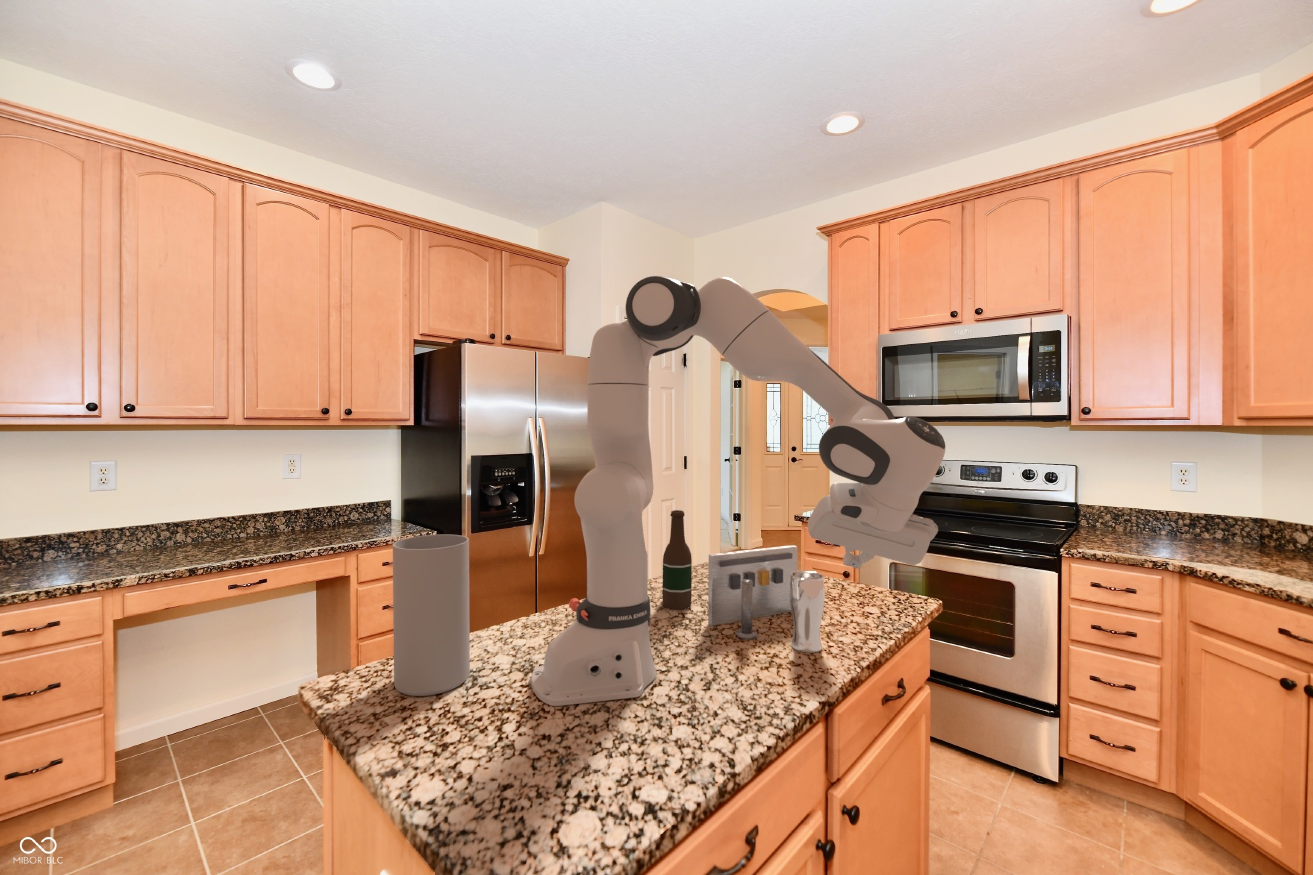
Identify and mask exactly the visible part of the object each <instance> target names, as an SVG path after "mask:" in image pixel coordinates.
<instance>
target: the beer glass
mask: <svg viewBox="0 0 1313 875" xmlns="http://www.w3.org/2000/svg"><path fill="white" fill-rule="evenodd" d="M825 590H826V589H825V576H824V574H822V573H821V572H816V571H811V570H797V571H795V572H792V573H791V581H790V606H791V612H790V613H791V619H792V624H793V631H792V633H793V634H792V637H791V643H790V645H791V647H792V648H793V649H794V650H796V651H798V652H800V651H801V653H805V652H806V654H814V653H815V652H816V653H819V652H820V651H822V650H823V649H822V648H823V645H822V639H821V625H822V619H823V613H824V609H825V600H826V599H825V598H826V597H825V594H826V593H825V592H826V591H825Z"/></svg>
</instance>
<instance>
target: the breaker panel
mask: <svg viewBox="0 0 1313 875" xmlns="http://www.w3.org/2000/svg"><path fill="white" fill-rule="evenodd" d="M798 548H799V547H798V546H797V545H794V544H792V545H783V546H774V547H764V548H754V549H747V550H738V551H729V552H728V551H727V552H720V553H719V552H718V553H710V554H708V595H707V596H708V599H707V600H708V603H707V605H708V606H707V608H708V609H707V613H708V614H707V616H708V619H707V620H708V621H707V622H708V623H707V624H708V625H709V626H713V627H714V626H718V625H726V624H731V623H736V622H741V583H742V580H744V579H748V580H752V581H753V611H752V620H754V619H760V618H765V617H764V616H766V617H772V616H776V614H778V615H782V614H781V613H784V614H788V612H790V613H791V606H790V581H791V573H792V572H795V571H798V552H799V551H798ZM771 615H772V616H771Z"/></svg>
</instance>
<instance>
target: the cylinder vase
mask: <svg viewBox="0 0 1313 875" xmlns="http://www.w3.org/2000/svg"><path fill="white" fill-rule="evenodd" d="M392 591H393V592H392V596H393V597H392V598H393V599H392V603H393V604H392V606H393V608H392V609H393V610H392V611H393V618H392V619H393V625H392V626H393V685H394V687H395V689H396V690H397V691H398V692H400V693H401V694H403V695H407V696H413V697H427V696H434V695H438V694H443V693H446V692H448V691H452V690H453V689H455V688H457V687H459V686H461V685H462V684H463V683H464V682H465V681H466V680H467V679H468V677H469V676H470V673H471V671H470V670H471V669H470V668H471V667H470V666H471V664H470V663H471V661H470V659H471V657H470V656H471V654H470V650H471V649H470V647H471V645H470V642H471V641H470V639H471V638H470V637H471V636H470V633H471V632H470V630H471V629H470V627H471V625H470V539H469V537H467V536H465V535H459V534H427V535H426V534H425V535H419V536H418V535H417V536H412V537H407V538H403V539H400V540H397V541H394V542H393V543H392Z"/></svg>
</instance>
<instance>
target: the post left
mask: <svg viewBox="0 0 1313 875" xmlns="http://www.w3.org/2000/svg"><path fill="white" fill-rule="evenodd" d="M752 611H753V581H752V580H748V579H744V580H742V583H741V621H740V628H739V629H737V630H736V637H737V638H739V639H741V640H744V639H747V641H748V640H749V639H750V640H751V639H752V640H755V639H757V638H758V632H757V630H755V629H753V619H752ZM750 640H749V641H750Z"/></svg>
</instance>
